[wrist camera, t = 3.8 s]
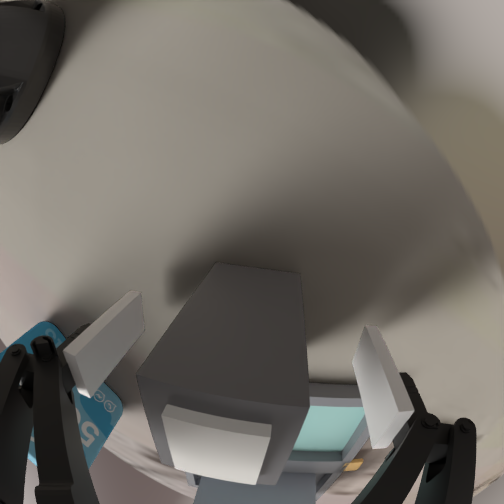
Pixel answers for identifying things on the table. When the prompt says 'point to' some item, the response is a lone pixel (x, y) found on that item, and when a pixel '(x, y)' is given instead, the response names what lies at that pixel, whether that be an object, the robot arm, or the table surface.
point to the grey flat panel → (326, 436)
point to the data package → (80, 402)
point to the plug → (231, 377)
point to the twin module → (259, 491)
